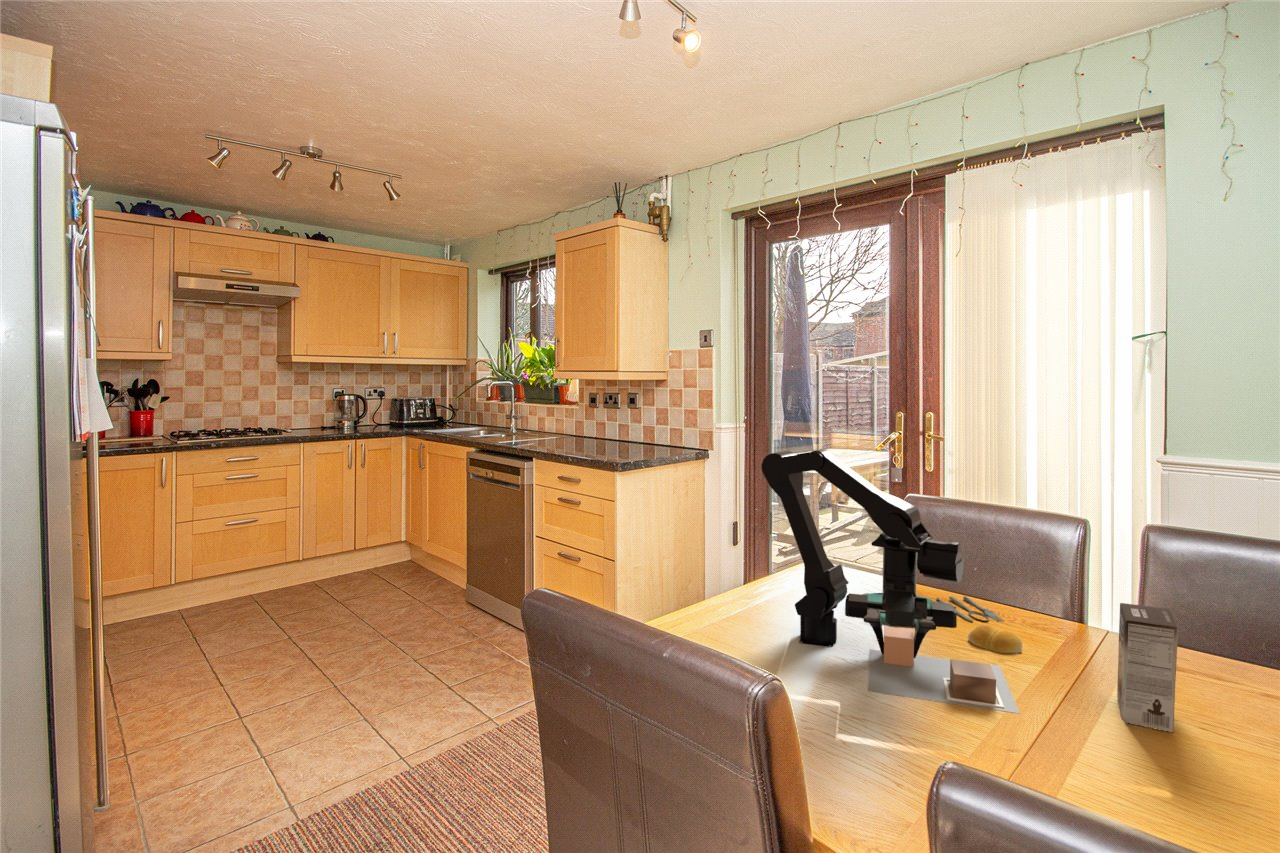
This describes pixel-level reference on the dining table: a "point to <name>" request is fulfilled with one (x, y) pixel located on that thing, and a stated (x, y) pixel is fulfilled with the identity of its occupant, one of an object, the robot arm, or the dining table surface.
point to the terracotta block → (898, 646)
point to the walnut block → (972, 681)
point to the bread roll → (995, 639)
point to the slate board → (930, 682)
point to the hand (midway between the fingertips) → (898, 655)
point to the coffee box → (1147, 666)
